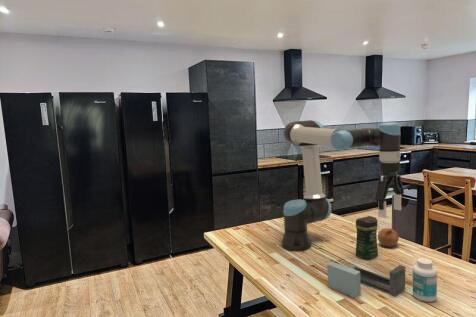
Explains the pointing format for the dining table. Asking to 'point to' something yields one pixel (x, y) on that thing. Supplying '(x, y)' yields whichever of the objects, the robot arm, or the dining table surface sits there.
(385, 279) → the floor track
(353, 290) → the gray rectangular block
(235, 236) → the dining table surface
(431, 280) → the pill bottle
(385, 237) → the onion
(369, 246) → the coffee jar
